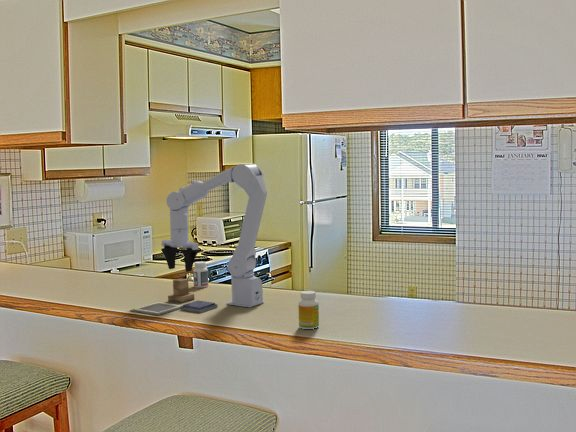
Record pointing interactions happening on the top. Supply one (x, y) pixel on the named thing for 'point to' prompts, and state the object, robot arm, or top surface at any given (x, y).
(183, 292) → the stamp
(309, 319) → the supplement bottle
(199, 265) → the pill bottle
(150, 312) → the marked square
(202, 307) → the ink pad
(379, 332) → the top surface
